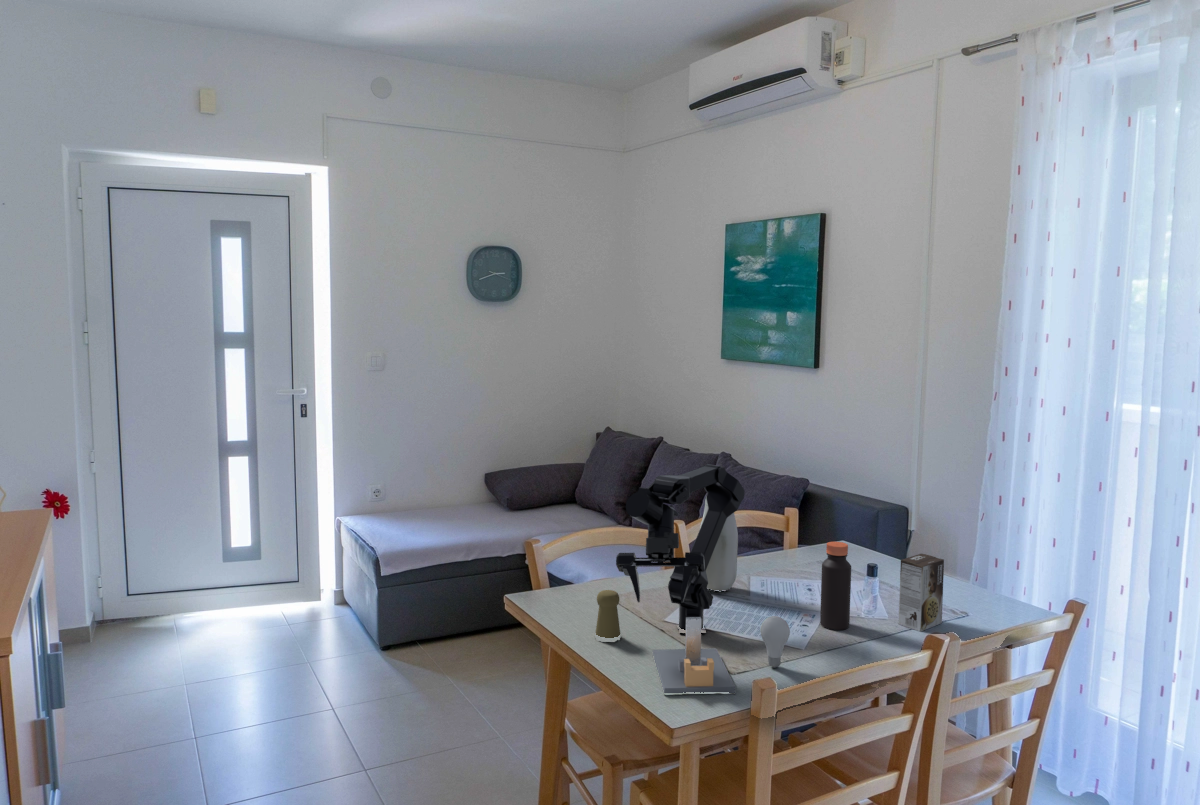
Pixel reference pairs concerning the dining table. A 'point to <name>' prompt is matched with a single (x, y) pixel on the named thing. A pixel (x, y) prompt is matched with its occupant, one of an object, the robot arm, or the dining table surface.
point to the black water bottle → (835, 587)
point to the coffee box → (921, 592)
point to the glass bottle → (723, 556)
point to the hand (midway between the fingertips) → (660, 602)
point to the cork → (608, 614)
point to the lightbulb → (774, 638)
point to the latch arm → (693, 640)
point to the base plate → (678, 677)
